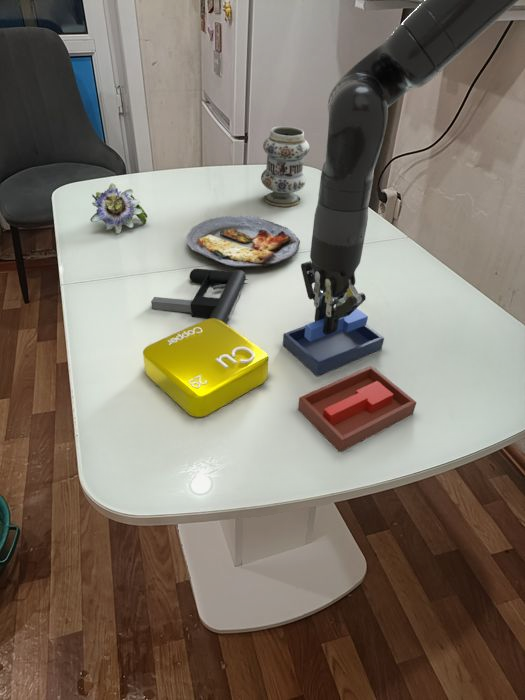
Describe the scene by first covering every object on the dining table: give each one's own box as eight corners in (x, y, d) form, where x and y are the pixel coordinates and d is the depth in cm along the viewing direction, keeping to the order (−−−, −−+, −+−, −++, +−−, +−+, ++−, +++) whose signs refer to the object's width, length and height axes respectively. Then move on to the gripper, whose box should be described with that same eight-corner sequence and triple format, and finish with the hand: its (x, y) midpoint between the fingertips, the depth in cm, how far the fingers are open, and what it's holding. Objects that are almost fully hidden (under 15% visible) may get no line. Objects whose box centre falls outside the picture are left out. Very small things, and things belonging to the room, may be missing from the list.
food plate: (317, 246, 118) (319, 232, 116) (256, 286, 103) (256, 271, 101) (233, 216, 129) (233, 203, 127) (167, 248, 114) (166, 234, 112)
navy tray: (345, 321, 94) (347, 310, 93) (381, 349, 88) (384, 337, 87) (282, 344, 88) (283, 333, 87) (317, 376, 82) (318, 365, 80)
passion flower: (121, 253, 123) (86, 222, 113) (113, 227, 129) (78, 196, 120) (158, 226, 121) (125, 192, 111) (148, 200, 127) (115, 166, 118)
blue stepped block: (352, 314, 89) (354, 303, 88) (366, 325, 87) (368, 313, 86) (300, 333, 84) (301, 321, 83) (313, 345, 82) (315, 333, 80)
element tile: (214, 334, 90) (214, 312, 87) (273, 378, 81) (274, 354, 78) (140, 370, 81) (136, 346, 78) (196, 422, 73) (194, 398, 70)
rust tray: (368, 376, 82) (371, 365, 81) (413, 413, 76) (416, 402, 74) (297, 408, 76) (299, 397, 74) (339, 452, 70) (342, 440, 68)
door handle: (138, 315, 89) (227, 324, 86) (175, 262, 105) (252, 268, 102) (141, 330, 91) (228, 339, 88) (177, 276, 107) (252, 282, 104)
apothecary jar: (305, 209, 134) (312, 138, 123) (259, 207, 134) (262, 136, 123) (303, 192, 144) (309, 125, 133) (260, 190, 144) (263, 122, 133)
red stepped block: (375, 389, 79) (378, 377, 78) (391, 403, 77) (394, 391, 76) (317, 416, 74) (319, 404, 73) (333, 432, 72) (335, 420, 70)
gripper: (391, 245, 71) (369, 344, 82) (329, 209, 80) (317, 303, 90) (350, 257, 67) (333, 359, 78) (290, 219, 76) (282, 315, 87)
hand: (324, 328), depth 84 cm, fingers closed on blue stepped block, 1 cm apart
